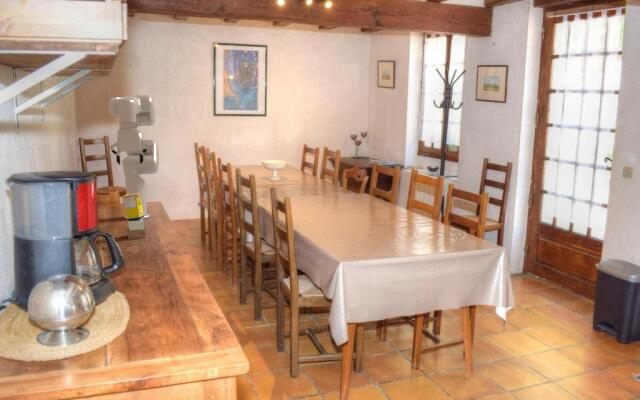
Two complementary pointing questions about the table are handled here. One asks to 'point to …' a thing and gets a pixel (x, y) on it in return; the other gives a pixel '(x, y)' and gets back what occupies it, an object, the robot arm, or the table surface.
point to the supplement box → (133, 206)
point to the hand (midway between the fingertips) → (130, 163)
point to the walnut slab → (135, 234)
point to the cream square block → (136, 224)
